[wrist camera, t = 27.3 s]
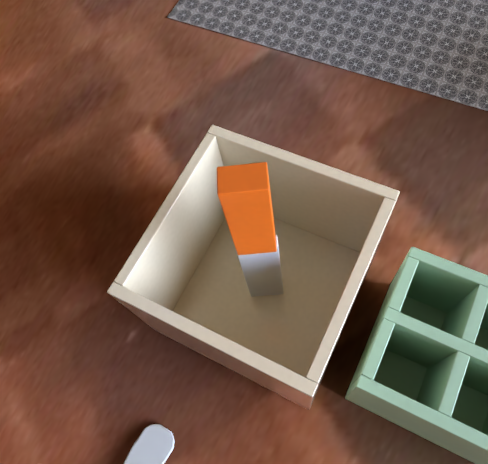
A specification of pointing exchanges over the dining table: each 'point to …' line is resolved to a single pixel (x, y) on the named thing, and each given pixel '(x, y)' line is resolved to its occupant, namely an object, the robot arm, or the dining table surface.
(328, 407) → the dining table surface
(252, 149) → the beige square open box
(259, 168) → the knife
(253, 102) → the dining table surface
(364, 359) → the green compartment organizer
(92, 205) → the dining table surface
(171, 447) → the fork
